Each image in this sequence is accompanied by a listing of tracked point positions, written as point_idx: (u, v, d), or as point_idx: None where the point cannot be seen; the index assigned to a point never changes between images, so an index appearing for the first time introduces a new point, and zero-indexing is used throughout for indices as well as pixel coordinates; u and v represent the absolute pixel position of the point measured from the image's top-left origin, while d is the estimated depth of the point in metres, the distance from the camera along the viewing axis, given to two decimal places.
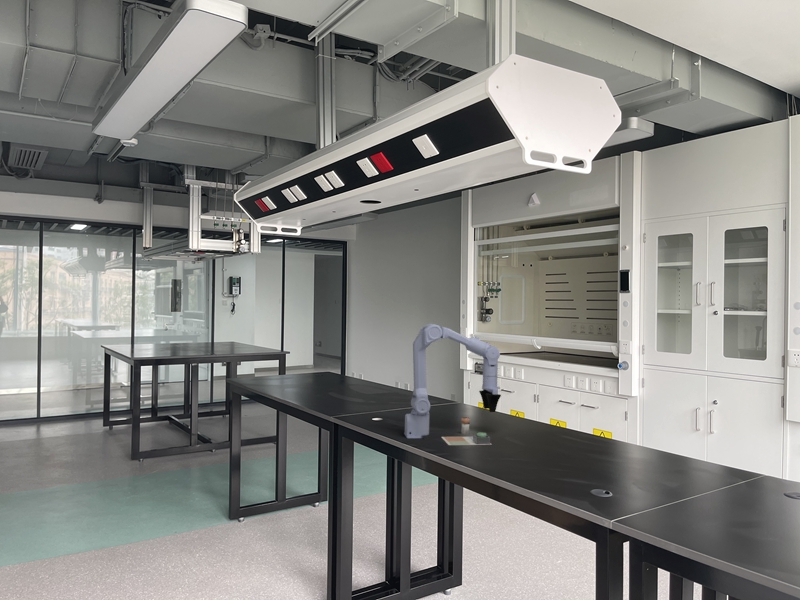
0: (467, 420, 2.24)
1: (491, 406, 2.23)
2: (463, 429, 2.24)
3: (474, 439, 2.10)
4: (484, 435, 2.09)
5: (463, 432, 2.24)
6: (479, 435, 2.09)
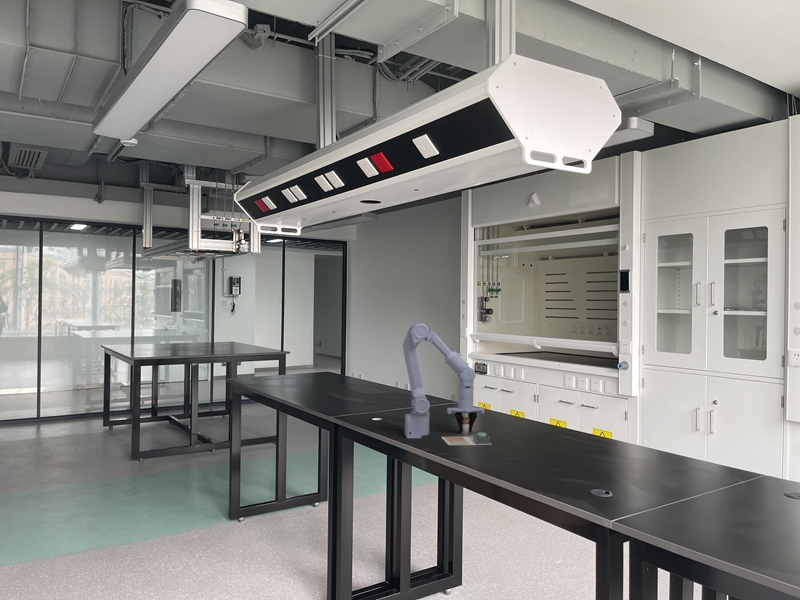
0: (467, 420, 2.24)
1: (459, 426, 2.25)
2: (463, 429, 2.24)
3: (474, 439, 2.10)
4: (484, 435, 2.09)
5: (463, 432, 2.24)
6: (479, 435, 2.09)
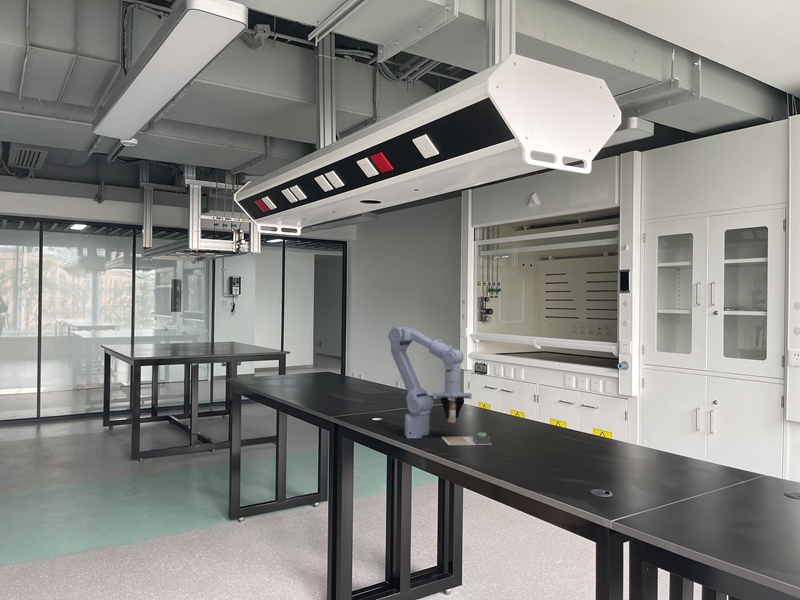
0: (454, 405, 2.14)
1: (445, 411, 2.15)
2: (449, 415, 2.14)
3: (474, 439, 2.10)
4: (484, 435, 2.09)
5: (449, 418, 2.14)
6: (479, 435, 2.09)
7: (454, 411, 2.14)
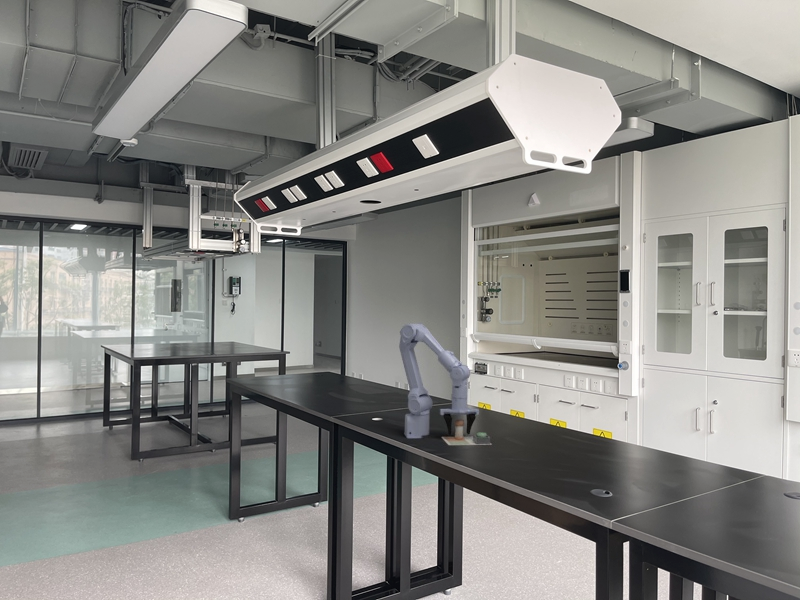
0: (461, 422, 2.14)
1: (448, 427, 2.15)
2: (457, 432, 2.14)
3: (474, 439, 2.10)
4: (484, 435, 2.09)
5: (457, 435, 2.14)
6: (479, 435, 2.09)
7: (461, 428, 2.14)
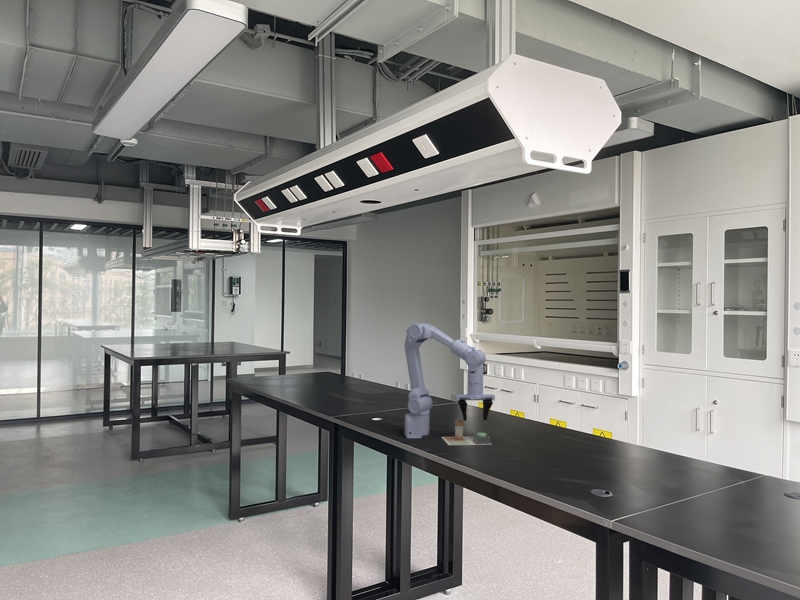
0: (461, 422, 2.14)
1: (463, 413, 2.12)
2: (457, 432, 2.14)
3: (474, 439, 2.10)
4: (484, 435, 2.09)
5: (457, 435, 2.14)
6: (479, 435, 2.09)
7: (461, 428, 2.14)
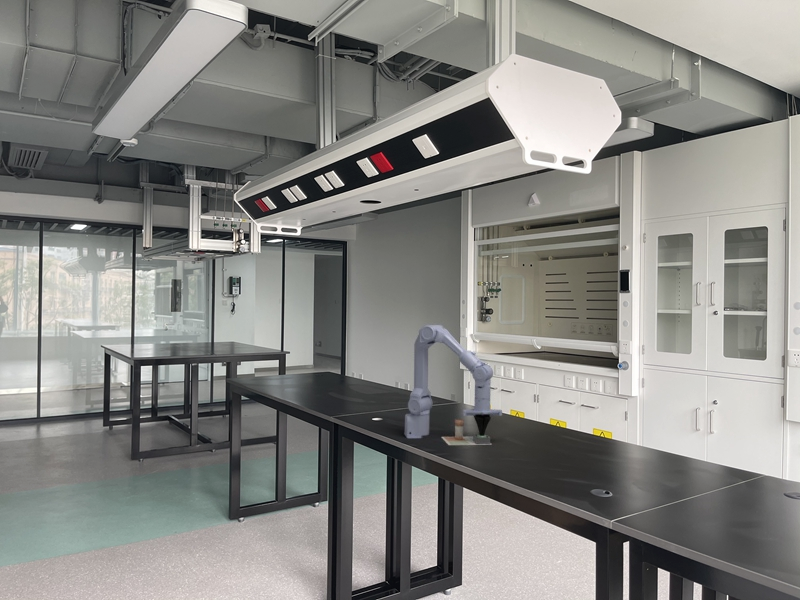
0: (461, 422, 2.14)
1: (479, 429, 2.11)
2: (457, 432, 2.14)
3: (474, 439, 2.10)
4: None
5: (457, 435, 2.14)
6: None
7: (461, 428, 2.14)
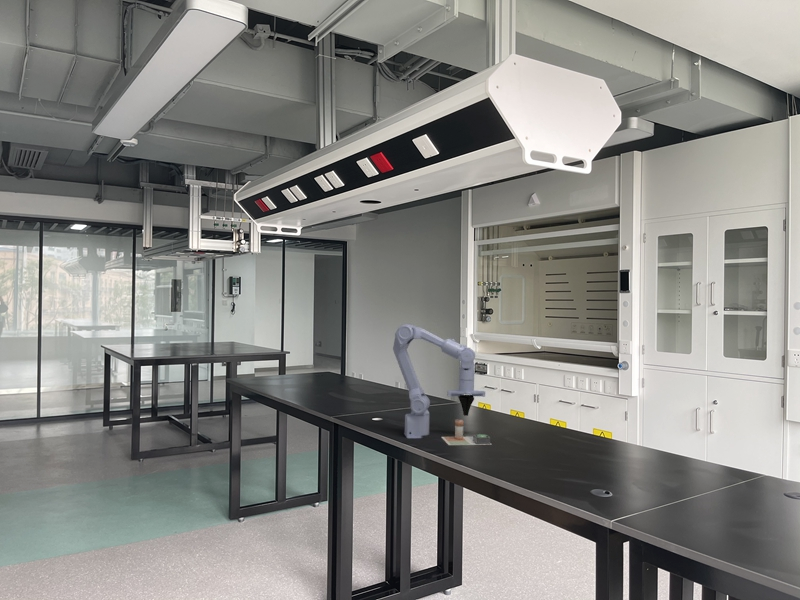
0: (461, 422, 2.14)
1: (463, 409, 2.20)
2: (457, 432, 2.14)
3: (474, 439, 2.10)
4: None
5: (457, 435, 2.14)
6: None
7: (461, 428, 2.14)
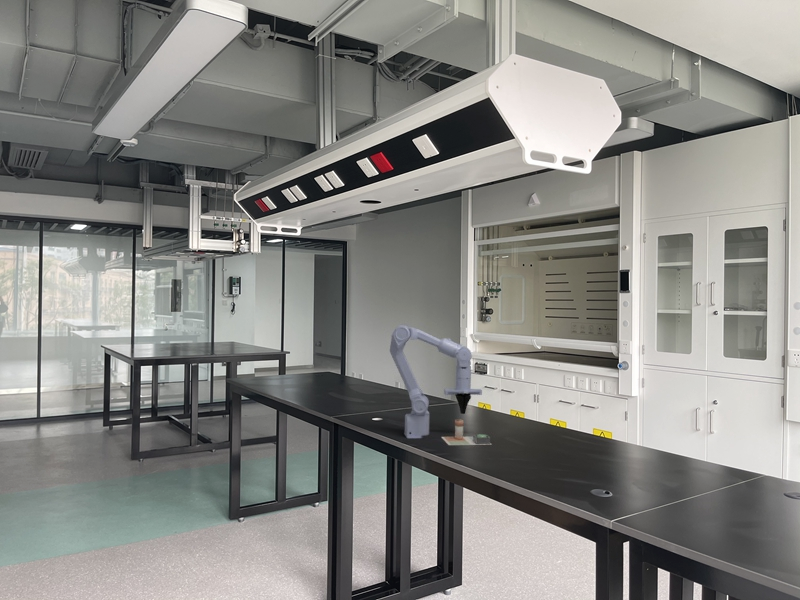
0: (461, 422, 2.14)
1: (460, 407, 2.23)
2: (457, 432, 2.14)
3: (474, 439, 2.10)
4: None
5: (457, 435, 2.14)
6: None
7: (461, 428, 2.14)
